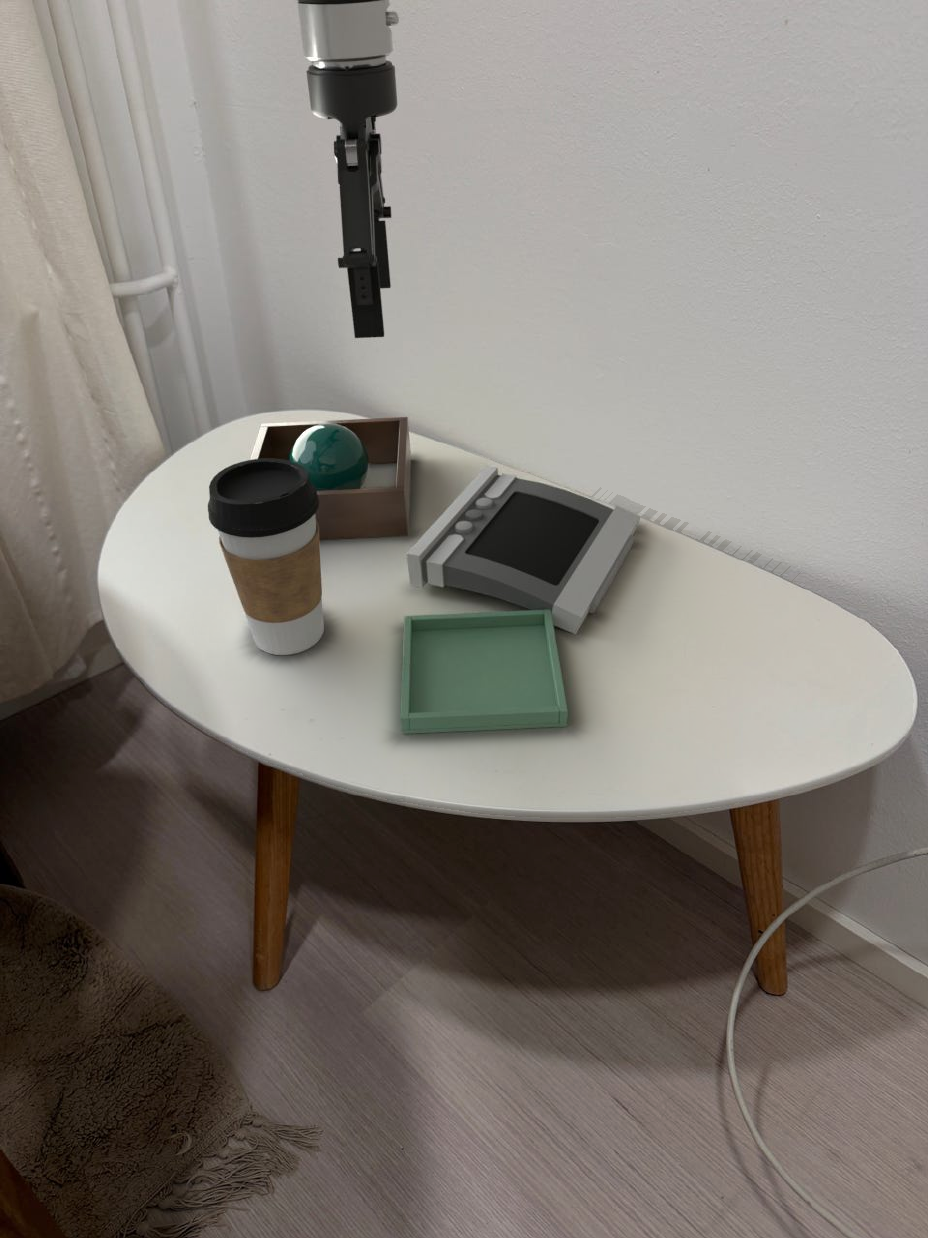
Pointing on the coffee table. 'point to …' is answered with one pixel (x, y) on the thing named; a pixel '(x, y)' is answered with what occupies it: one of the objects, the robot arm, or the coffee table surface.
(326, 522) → the box
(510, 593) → the alarm clock
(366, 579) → the coffee table surface
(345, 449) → the sphere
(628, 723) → the coffee table surface
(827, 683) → the coffee table surface
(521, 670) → the tray
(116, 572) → the coffee table surface
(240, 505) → the coffee cup
